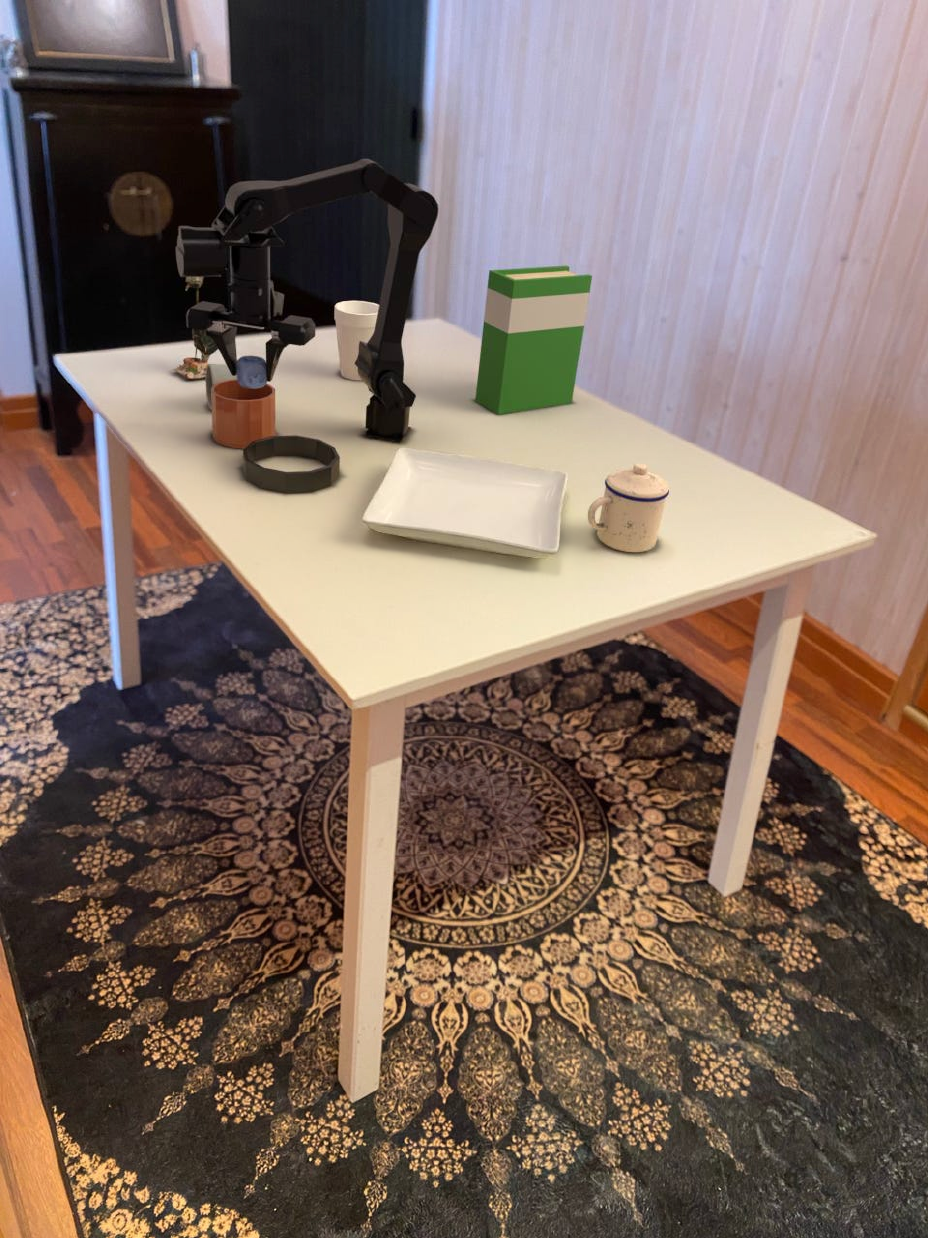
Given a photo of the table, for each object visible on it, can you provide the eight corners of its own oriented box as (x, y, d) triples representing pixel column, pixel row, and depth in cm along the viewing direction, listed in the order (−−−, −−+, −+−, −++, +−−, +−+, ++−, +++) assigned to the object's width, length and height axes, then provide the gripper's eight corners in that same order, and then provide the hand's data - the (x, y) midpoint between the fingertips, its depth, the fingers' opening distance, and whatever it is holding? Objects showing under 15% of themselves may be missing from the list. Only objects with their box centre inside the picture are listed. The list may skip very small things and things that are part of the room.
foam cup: (325, 377, 194) (326, 308, 187) (343, 363, 201) (346, 297, 194) (371, 386, 192) (374, 317, 185) (388, 372, 199) (392, 306, 192)
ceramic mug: (260, 413, 174) (260, 370, 170) (213, 416, 171) (211, 371, 167) (247, 393, 183) (246, 351, 179) (201, 395, 180) (199, 352, 176)
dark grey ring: (349, 463, 160) (350, 445, 159) (319, 499, 149) (319, 479, 147) (265, 448, 162) (265, 429, 161) (228, 482, 151) (228, 462, 149)
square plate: (358, 543, 138) (359, 518, 136) (397, 466, 161) (399, 443, 159) (554, 573, 136) (558, 548, 134) (565, 491, 160) (569, 468, 158)
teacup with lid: (633, 521, 153) (648, 449, 146) (669, 549, 146) (686, 475, 140) (566, 531, 147) (579, 457, 141) (600, 561, 141) (615, 484, 135)
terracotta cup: (284, 431, 169) (284, 385, 165) (261, 453, 161) (260, 405, 156) (228, 421, 170) (227, 375, 166) (202, 442, 162) (200, 394, 158)
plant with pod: (240, 376, 190) (238, 266, 179) (182, 383, 183) (177, 270, 173) (222, 362, 195) (219, 255, 184) (165, 369, 189) (159, 258, 178)
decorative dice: (235, 380, 159) (235, 355, 157) (260, 379, 160) (260, 354, 158) (243, 389, 156) (242, 364, 154) (268, 387, 158) (268, 362, 155)
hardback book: (548, 390, 200) (566, 265, 187) (571, 402, 195) (592, 275, 182) (475, 400, 191) (489, 270, 178) (498, 414, 186) (514, 281, 173)
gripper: (328, 273, 155) (325, 371, 163) (213, 255, 157) (216, 354, 166) (303, 289, 146) (302, 393, 154) (182, 271, 148) (187, 374, 156)
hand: (252, 377), depth 158 cm, fingers closed on decorative dice, 5 cm apart
